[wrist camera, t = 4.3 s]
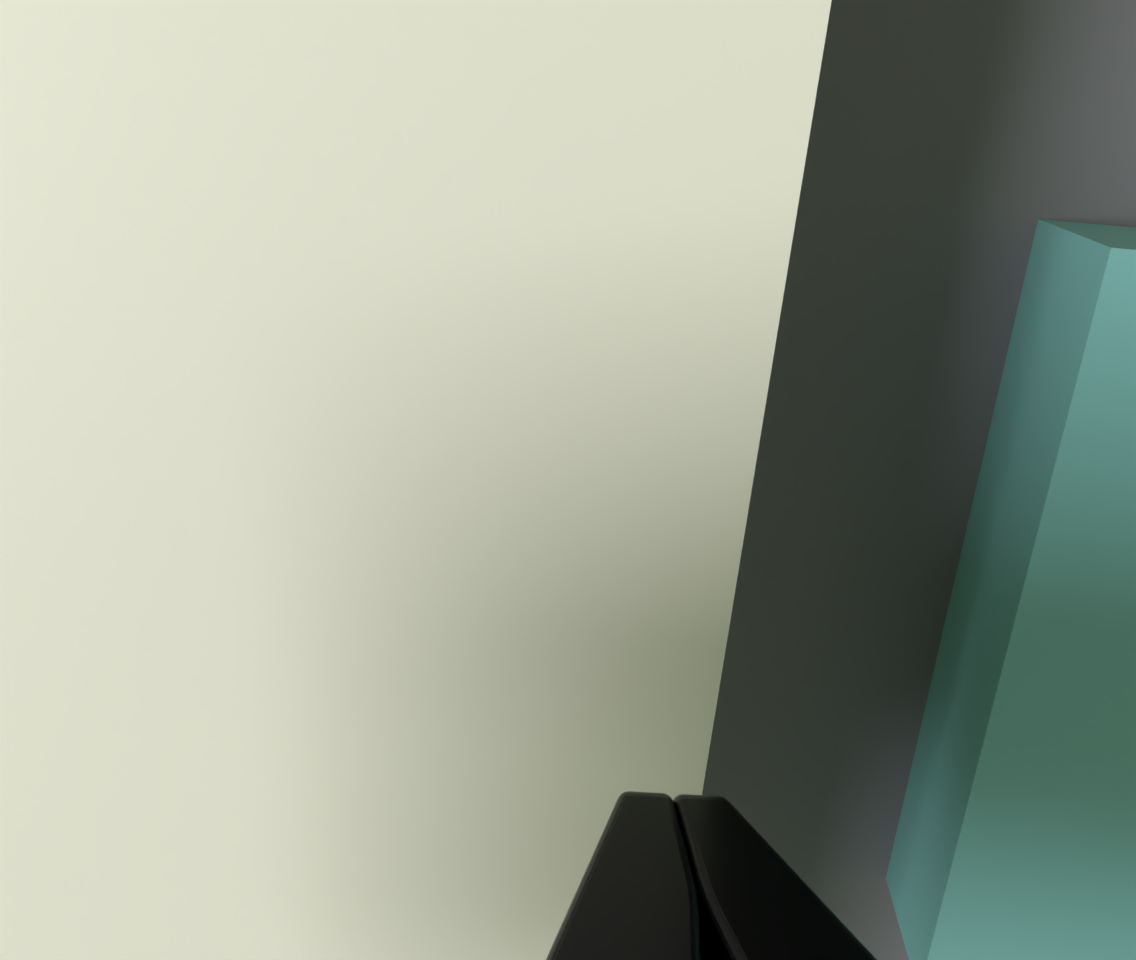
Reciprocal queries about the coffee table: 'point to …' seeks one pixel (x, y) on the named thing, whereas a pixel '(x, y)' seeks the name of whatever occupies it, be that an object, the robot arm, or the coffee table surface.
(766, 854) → the robot arm
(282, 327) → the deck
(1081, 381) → the block
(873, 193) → the mat
